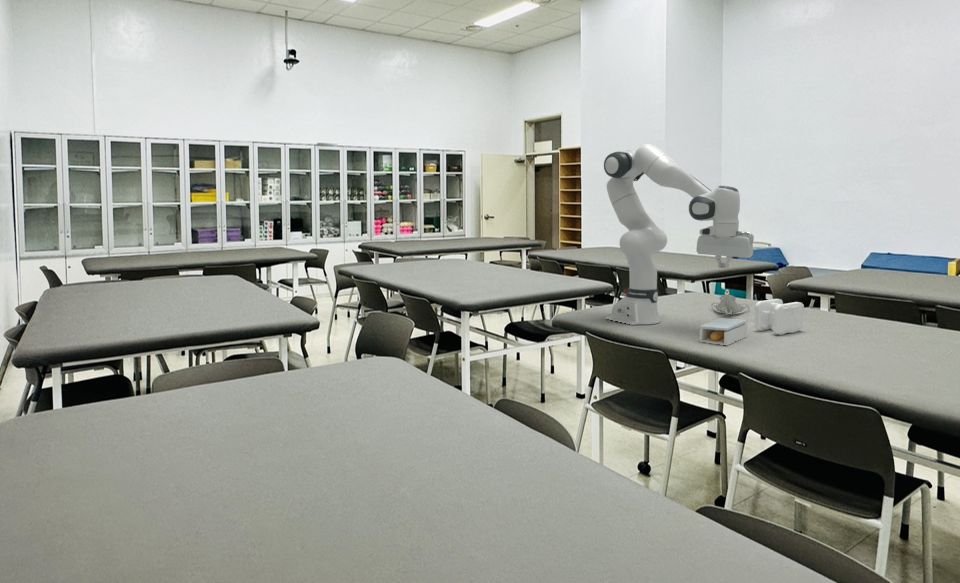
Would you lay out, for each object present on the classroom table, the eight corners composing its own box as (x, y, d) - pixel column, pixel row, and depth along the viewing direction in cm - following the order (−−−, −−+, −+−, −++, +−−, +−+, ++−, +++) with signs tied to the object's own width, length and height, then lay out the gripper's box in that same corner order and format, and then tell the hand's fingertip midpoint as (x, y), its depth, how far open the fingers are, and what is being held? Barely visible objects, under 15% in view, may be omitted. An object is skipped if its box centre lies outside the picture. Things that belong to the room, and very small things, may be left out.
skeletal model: (749, 310, 286) (750, 278, 267) (748, 328, 282) (748, 296, 262) (711, 307, 293) (710, 276, 273) (709, 324, 288) (707, 294, 269)
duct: (699, 342, 230) (699, 328, 229) (720, 333, 243) (720, 320, 242) (726, 346, 223) (727, 332, 222) (746, 336, 236) (747, 323, 235)
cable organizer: (779, 326, 251) (780, 297, 249) (803, 331, 242) (805, 301, 240) (753, 331, 244) (754, 301, 242) (777, 336, 235) (779, 305, 233)
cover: (699, 328, 229) (699, 326, 229) (720, 320, 242) (720, 318, 242) (727, 330, 222) (727, 328, 222) (747, 322, 235) (747, 320, 235)
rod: (713, 342, 227) (707, 336, 228) (731, 334, 238) (725, 329, 240) (718, 337, 225) (712, 331, 227) (736, 329, 237) (730, 323, 238)
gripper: (757, 231, 229) (754, 269, 231) (703, 228, 243) (701, 264, 245) (750, 232, 224) (747, 271, 227) (695, 229, 239) (693, 266, 241)
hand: (723, 267), depth 236 cm, fingers closed
